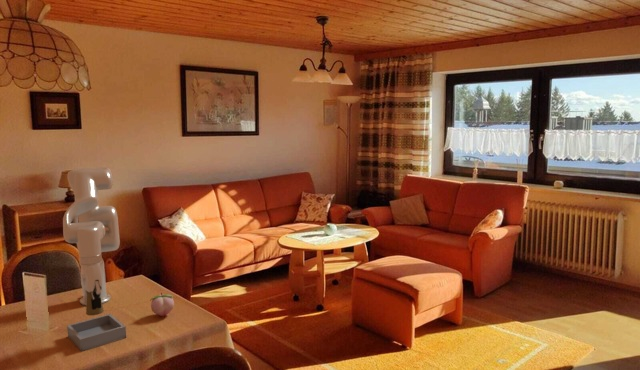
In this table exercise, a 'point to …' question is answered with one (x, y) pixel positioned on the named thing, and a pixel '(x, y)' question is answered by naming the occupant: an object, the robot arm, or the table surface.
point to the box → (96, 332)
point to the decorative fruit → (162, 304)
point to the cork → (89, 305)
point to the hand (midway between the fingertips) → (94, 306)
